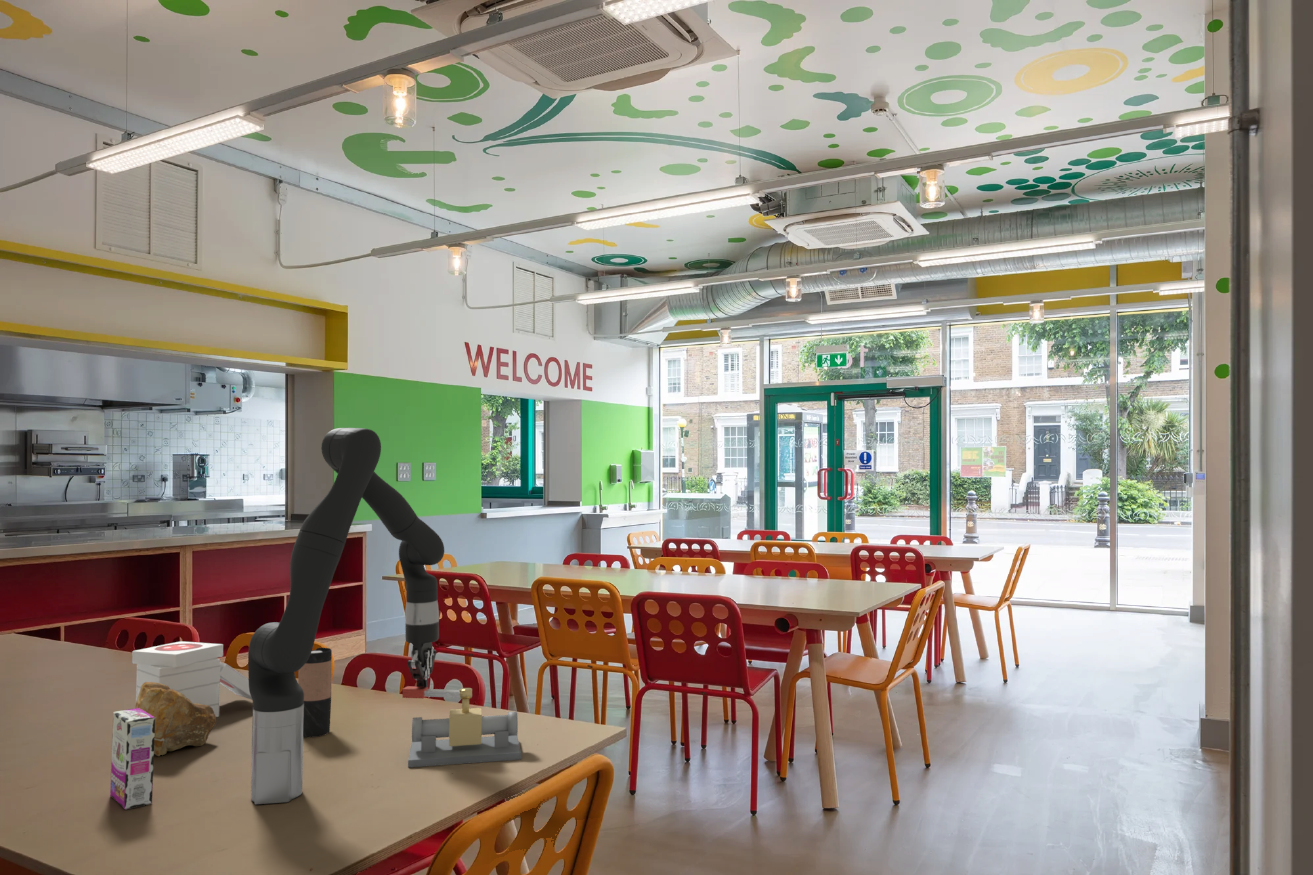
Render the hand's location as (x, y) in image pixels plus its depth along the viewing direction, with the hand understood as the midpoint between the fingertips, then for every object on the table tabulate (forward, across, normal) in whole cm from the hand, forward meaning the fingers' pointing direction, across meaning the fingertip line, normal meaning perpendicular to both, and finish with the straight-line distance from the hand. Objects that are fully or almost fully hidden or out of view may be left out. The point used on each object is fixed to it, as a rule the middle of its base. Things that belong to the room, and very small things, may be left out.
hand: (422, 695), depth 203 cm
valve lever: (-1, -4, -5) cm, 6 cm away
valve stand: (+12, -5, -11) cm, 17 cm away
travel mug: (+12, +8, +30) cm, 34 cm away
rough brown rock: (+11, -4, +58) cm, 59 cm away
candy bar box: (+11, -38, +44) cm, 59 cm away
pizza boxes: (+12, +25, +70) cm, 75 cm away
